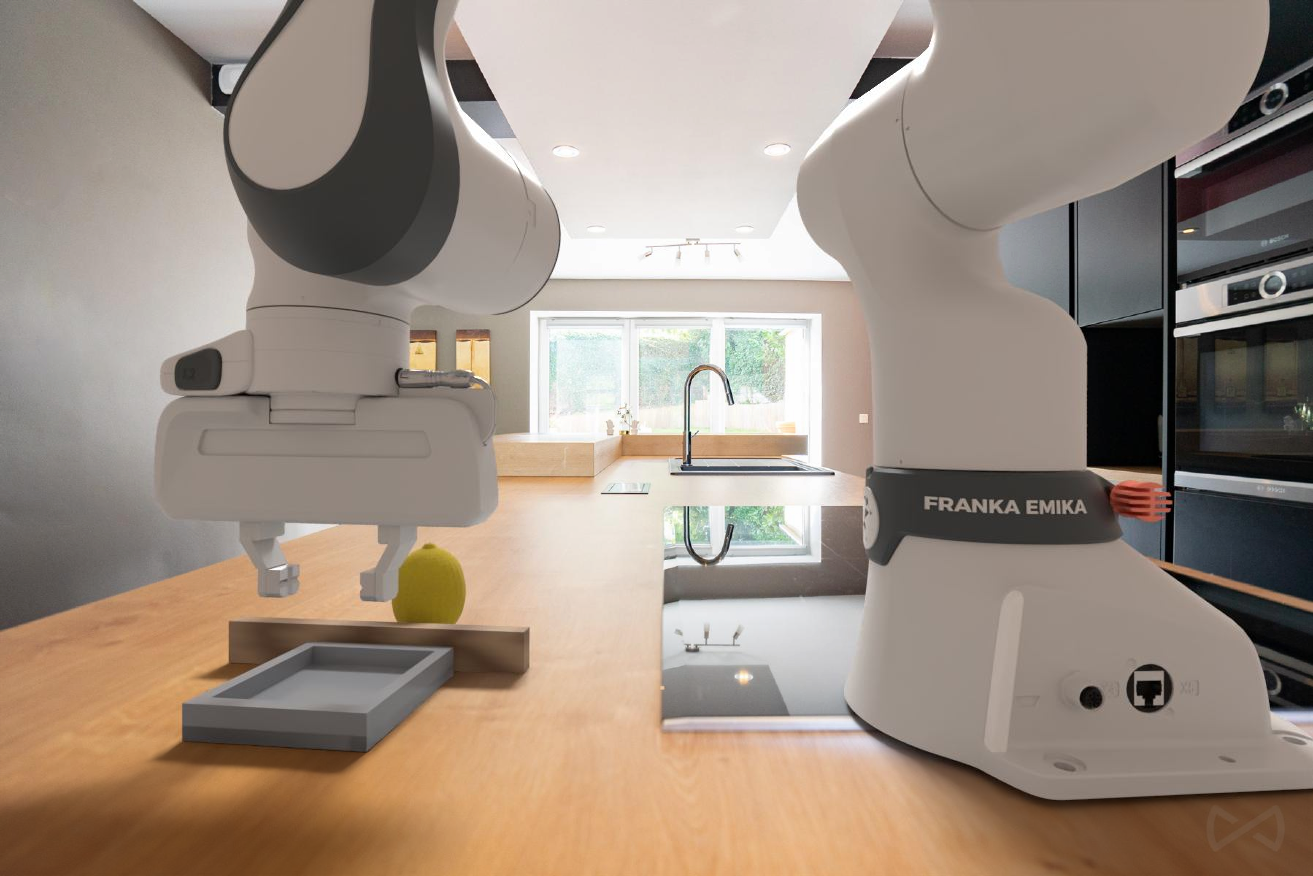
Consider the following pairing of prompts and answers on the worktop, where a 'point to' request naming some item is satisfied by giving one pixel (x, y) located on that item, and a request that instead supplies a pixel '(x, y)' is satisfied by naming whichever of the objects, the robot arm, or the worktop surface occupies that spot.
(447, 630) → the rail
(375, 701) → the dish
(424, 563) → the lemon
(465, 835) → the worktop surface
